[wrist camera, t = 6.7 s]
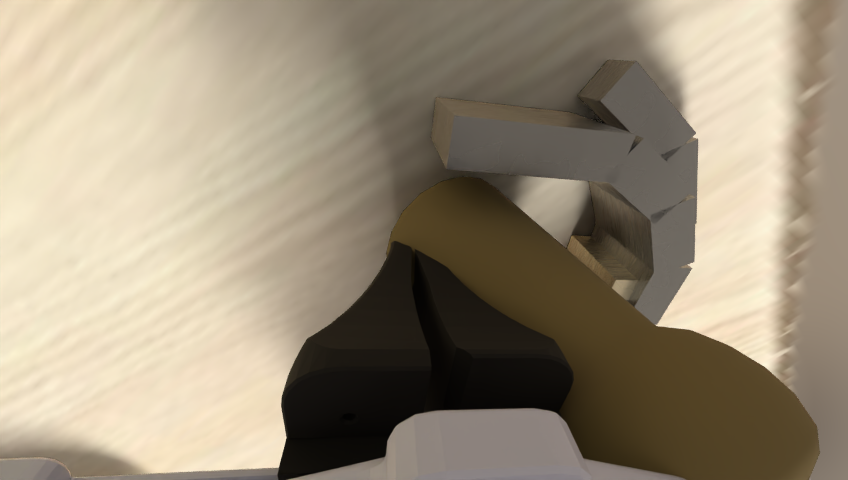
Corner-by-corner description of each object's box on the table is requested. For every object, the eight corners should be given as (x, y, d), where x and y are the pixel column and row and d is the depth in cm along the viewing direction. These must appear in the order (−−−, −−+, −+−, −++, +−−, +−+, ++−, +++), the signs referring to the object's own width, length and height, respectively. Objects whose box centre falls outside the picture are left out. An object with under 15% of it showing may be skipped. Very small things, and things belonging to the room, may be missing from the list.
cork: (453, 145, 12) (968, 402, 4) (526, 219, 16) (853, 423, 8) (356, 272, 13) (599, 722, 4) (448, 312, 17) (669, 590, 8)
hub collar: (593, 354, 21) (633, 415, 17) (404, 353, 19) (408, 420, 16) (739, 78, 13) (867, 88, 9) (443, 36, 11) (467, 30, 8)
